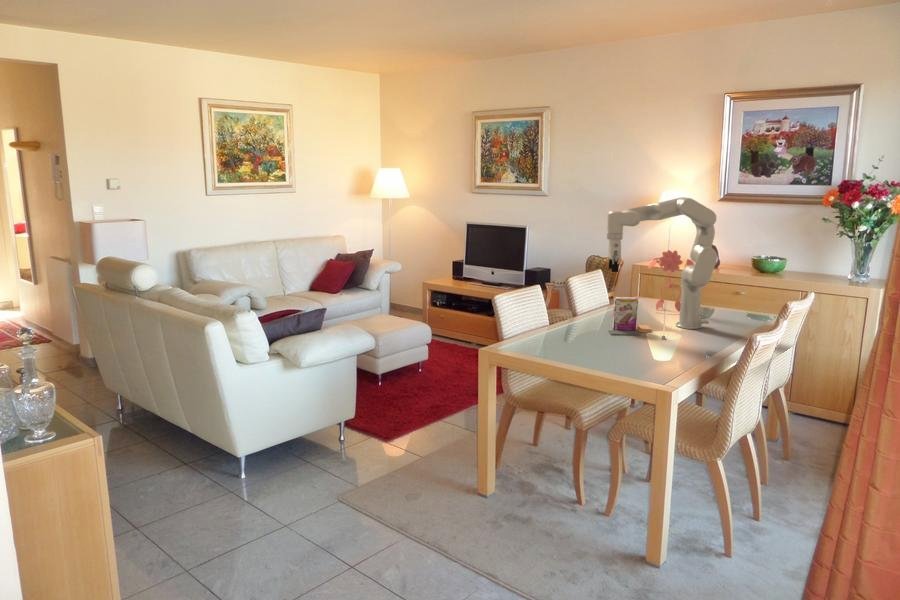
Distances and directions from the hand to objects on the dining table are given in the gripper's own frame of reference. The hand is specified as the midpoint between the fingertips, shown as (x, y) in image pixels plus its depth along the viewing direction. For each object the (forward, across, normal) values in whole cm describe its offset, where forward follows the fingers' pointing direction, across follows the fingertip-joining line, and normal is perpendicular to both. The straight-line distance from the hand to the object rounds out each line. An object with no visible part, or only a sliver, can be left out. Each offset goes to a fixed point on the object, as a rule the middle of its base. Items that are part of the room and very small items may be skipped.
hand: (613, 270), depth 331 cm
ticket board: (+30, -5, -15) cm, 34 cm away
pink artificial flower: (+30, +40, -37) cm, 62 cm away
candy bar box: (+30, -5, -6) cm, 31 cm away
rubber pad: (+29, -12, -4) cm, 32 cm away
